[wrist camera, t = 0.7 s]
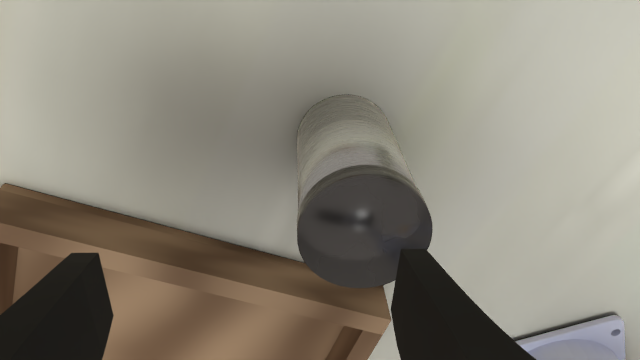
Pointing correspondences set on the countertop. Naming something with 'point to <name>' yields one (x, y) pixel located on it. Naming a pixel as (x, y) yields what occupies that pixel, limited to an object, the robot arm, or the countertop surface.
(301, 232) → the steel shaker
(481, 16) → the countertop surface
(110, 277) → the walnut tray
